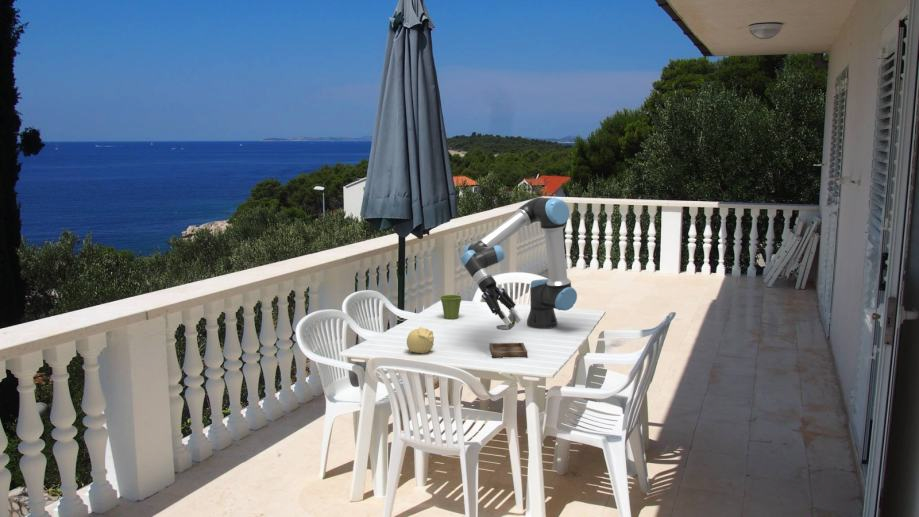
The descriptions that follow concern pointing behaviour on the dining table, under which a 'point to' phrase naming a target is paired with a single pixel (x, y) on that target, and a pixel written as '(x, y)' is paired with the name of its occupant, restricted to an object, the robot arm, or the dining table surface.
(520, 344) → the walnut tray
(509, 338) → the dining table surface
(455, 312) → the plant pot
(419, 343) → the yellow lumpy ball
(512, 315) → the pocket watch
